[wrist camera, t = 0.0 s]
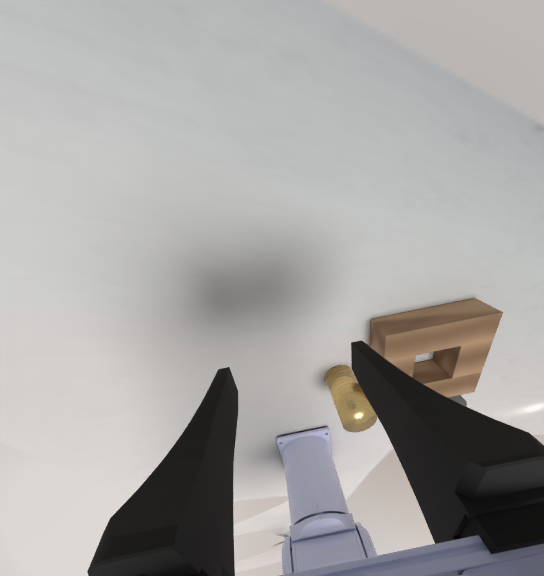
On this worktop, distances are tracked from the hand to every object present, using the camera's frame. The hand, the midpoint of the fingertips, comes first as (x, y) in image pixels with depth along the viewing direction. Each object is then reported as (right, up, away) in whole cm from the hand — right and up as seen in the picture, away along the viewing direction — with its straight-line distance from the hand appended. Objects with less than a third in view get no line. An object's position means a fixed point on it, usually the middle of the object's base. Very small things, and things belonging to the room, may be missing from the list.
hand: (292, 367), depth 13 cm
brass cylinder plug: (+7, -7, +15) cm, 18 cm away
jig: (+17, -3, +14) cm, 22 cm away
